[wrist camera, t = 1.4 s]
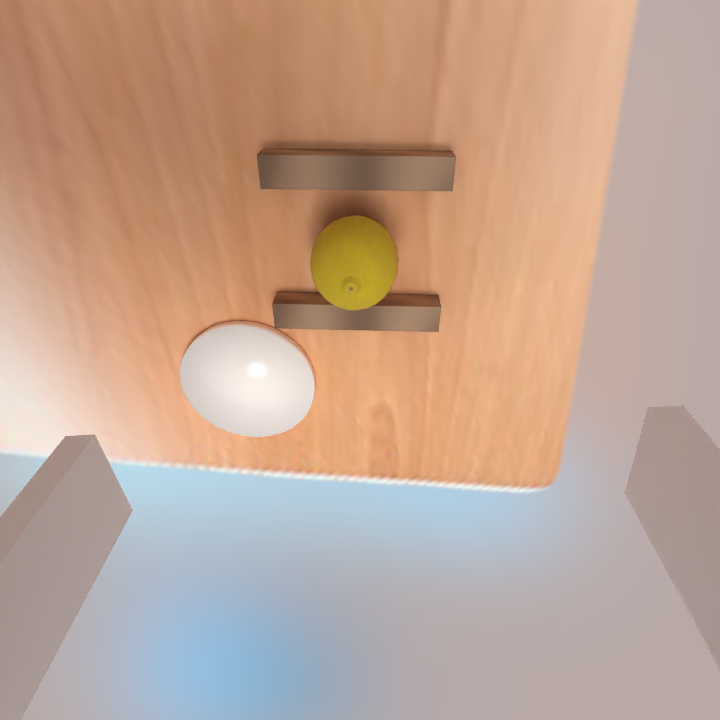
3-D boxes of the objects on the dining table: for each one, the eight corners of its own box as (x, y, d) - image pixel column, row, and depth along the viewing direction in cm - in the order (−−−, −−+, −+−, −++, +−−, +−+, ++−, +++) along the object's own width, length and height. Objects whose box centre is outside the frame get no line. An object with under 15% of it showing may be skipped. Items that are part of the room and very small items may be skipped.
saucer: (196, 427, 45) (192, 435, 44) (172, 319, 39) (167, 325, 38) (318, 431, 44) (317, 438, 44) (312, 322, 38) (310, 328, 38)
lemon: (302, 231, 35) (282, 277, 28) (366, 184, 33) (362, 221, 26) (349, 291, 37) (341, 347, 30) (412, 250, 35) (419, 299, 28)
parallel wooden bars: (279, 315, 38) (274, 328, 37) (264, 149, 32) (257, 154, 30) (436, 319, 38) (438, 331, 36) (452, 150, 31) (455, 156, 30)
